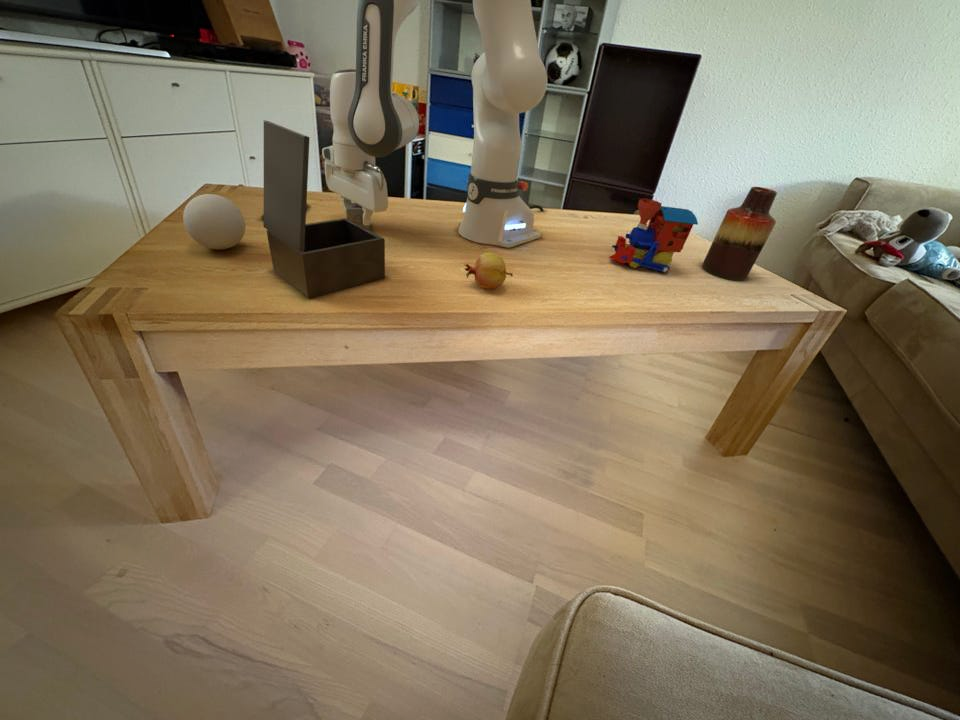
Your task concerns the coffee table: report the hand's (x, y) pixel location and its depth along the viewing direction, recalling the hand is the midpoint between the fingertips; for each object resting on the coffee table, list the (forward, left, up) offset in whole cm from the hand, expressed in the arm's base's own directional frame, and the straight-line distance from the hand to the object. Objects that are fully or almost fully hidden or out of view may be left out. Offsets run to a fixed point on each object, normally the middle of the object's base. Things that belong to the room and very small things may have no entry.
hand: (357, 220), depth 99 cm
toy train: (-53, +45, -2) cm, 70 cm away
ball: (+30, +3, -2) cm, 30 cm away
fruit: (-9, +39, -2) cm, 40 cm away
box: (+16, +23, -2) cm, 28 cm away
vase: (-73, +58, -2) cm, 93 cm away
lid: (+22, +23, +15) cm, 35 cm away
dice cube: (0, 0, -2) cm, 2 cm away
